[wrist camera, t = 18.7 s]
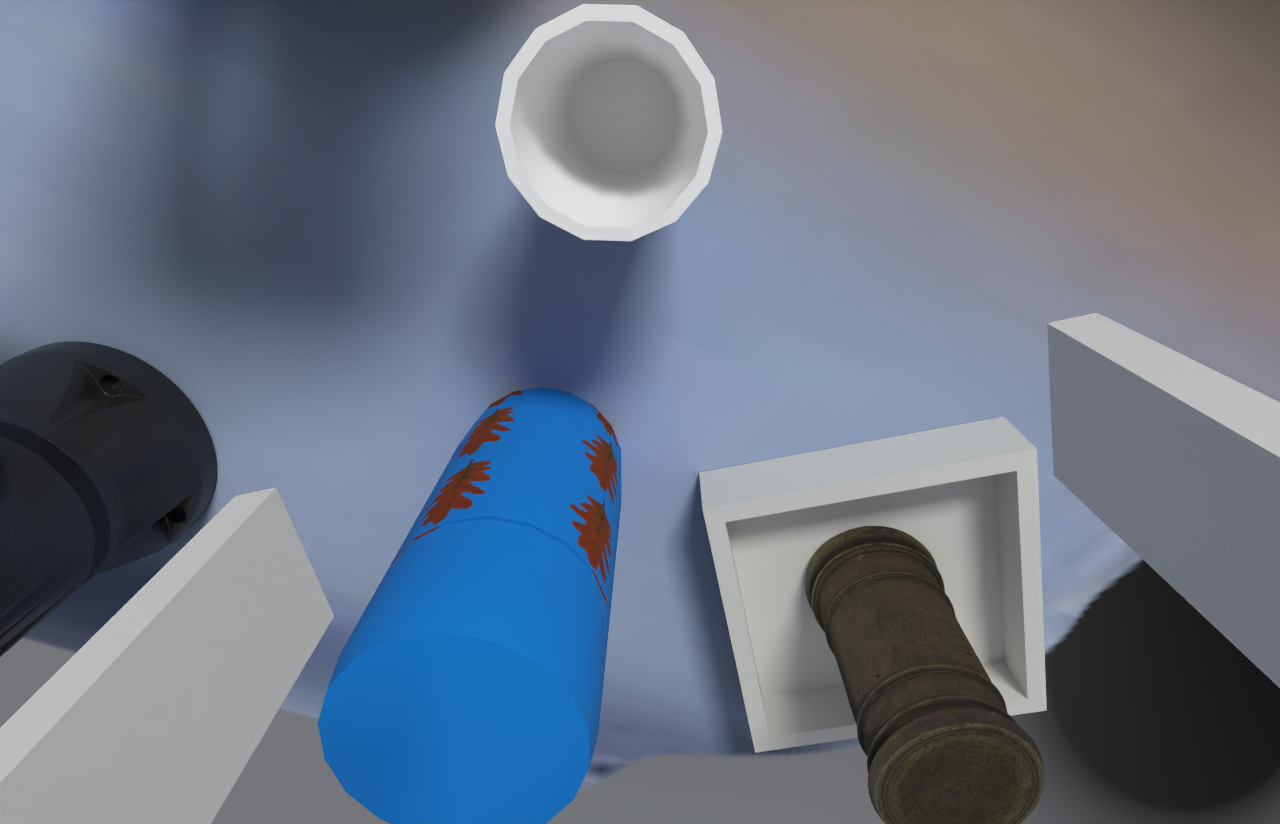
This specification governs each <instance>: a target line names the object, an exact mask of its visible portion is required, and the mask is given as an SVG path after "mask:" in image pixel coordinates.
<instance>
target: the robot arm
mask: <svg viewBox="0 0 1280 824" xmlns="http://www.w3.org/2000/svg"><path fill="white" fill-rule="evenodd" d="M1047 327H1048V350H1049V374H1050V397H1051V420H1052V444H1053V467H1054V476H1055V477H1056V478H1057V479H1058V480H1059V481H1060V482H1061V483H1063V484H1064V485H1065V486H1066V487H1067V488H1068V489H1069V490H1070V491H1071V492H1072V493H1073V494H1074V495H1075V496H1076V497H1077V498H1078V499H1080V500H1081V501H1082V502H1083V503H1084V504H1085V505H1086V506H1087V507H1088V508H1089V509H1090V510H1091V511H1092V512H1093V513H1094V514H1095V515H1097V516H1098V517H1099V518H1100V519H1101V520H1102V521H1103V522H1104V523H1105V524H1106V525H1107V526H1108V527H1109V528H1110V529H1111V530H1113V531H1114V532H1115V533H1116V534H1117V535H1118V536H1119V537H1120V538H1121V539H1122V540H1123V541H1124V542H1125V543H1126V544H1127V545H1128V546H1130V547H1131V548H1132V549H1133V550H1134V551H1135V552H1136V553H1137V554H1138V555H1139V556H1140V557H1141V558H1142V559H1143V560H1144V561H1145V562H1147V563H1148V564H1149V565H1150V566H1151V567H1152V568H1153V569H1154V570H1155V571H1156V572H1157V573H1158V574H1159V575H1160V576H1162V577H1163V578H1164V579H1165V580H1166V581H1167V582H1168V583H1169V584H1170V585H1171V586H1172V587H1173V588H1174V589H1175V590H1176V591H1177V592H1179V593H1180V594H1181V595H1182V596H1183V597H1184V598H1185V599H1186V600H1187V601H1188V602H1189V603H1190V604H1191V605H1192V606H1193V607H1194V608H1195V609H1197V610H1198V611H1199V612H1200V613H1201V614H1202V615H1203V616H1204V617H1205V618H1206V619H1207V620H1208V621H1209V622H1210V623H1211V624H1213V626H1215V627H1216V628H1217V629H1218V630H1219V631H1220V632H1221V633H1222V634H1223V635H1224V636H1225V637H1226V638H1227V639H1228V640H1230V641H1231V642H1232V643H1233V644H1234V645H1235V646H1236V647H1237V648H1238V649H1239V650H1240V651H1241V652H1242V653H1243V654H1244V655H1246V656H1247V657H1248V658H1249V659H1250V660H1251V661H1252V662H1253V663H1254V664H1255V665H1256V666H1257V667H1258V668H1259V669H1260V670H1261V671H1262V672H1263V673H1265V674H1266V675H1267V676H1268V677H1269V678H1270V679H1271V680H1272V681H1273V682H1274V683H1275V684H1276V685H1277V686H1278V687H1279V688H1280V402H1278V401H1276V400H1274V399H1272V398H1270V397H1268V396H1265V395H1263V394H1261V393H1259V392H1257V391H1255V390H1253V389H1251V388H1249V387H1247V386H1245V385H1243V384H1241V383H1239V382H1237V381H1235V380H1233V379H1231V378H1229V377H1227V376H1225V375H1223V374H1221V373H1219V372H1217V371H1215V370H1212V369H1210V368H1208V367H1206V366H1204V365H1202V364H1200V363H1198V362H1196V361H1194V360H1192V359H1190V358H1188V357H1186V356H1184V355H1182V354H1180V353H1178V352H1176V351H1174V350H1172V349H1170V348H1168V347H1166V346H1164V345H1162V344H1160V343H1157V342H1155V341H1153V340H1151V339H1149V338H1147V337H1145V336H1143V335H1141V334H1139V333H1137V332H1135V331H1133V330H1131V329H1129V328H1127V327H1125V326H1123V325H1121V324H1119V323H1117V322H1115V321H1113V320H1111V319H1109V318H1107V317H1104V316H1102V315H1100V314H1098V313H1093V314H1089V315H1084V316H1079V317H1075V318H1070V319H1065V320H1060V321H1056V322H1051V323H1047ZM216 473H217V467H216V456H215V451H214V447H213V443H212V440H211V437H210V434H209V432H208V430H207V427H206V425H205V423H204V421H203V419H202V418H201V416H200V414H199V413H198V411H197V410H196V408H195V407H194V405H193V404H192V403H191V401H190V400H189V399H188V398H187V397H186V395H185V394H184V393H183V392H182V391H181V390H180V389H179V388H178V387H177V386H176V385H175V384H174V383H173V382H172V381H171V380H170V379H168V378H167V377H166V376H165V375H163V374H162V373H161V372H159V371H158V370H157V369H155V368H154V367H152V366H151V365H149V364H147V363H146V362H144V361H142V360H140V359H138V358H137V357H134V356H132V355H130V354H128V353H125V352H123V351H120V350H118V349H115V348H111V347H108V346H104V345H100V344H94V343H87V342H60V343H53V344H48V345H45V346H41V347H38V348H36V349H33V350H31V351H29V352H26V353H24V354H21V355H19V356H17V357H14V358H12V359H10V360H8V361H6V362H4V363H3V364H1V365H0V657H1V656H2V655H3V654H4V653H5V652H6V651H8V650H9V649H10V648H11V647H12V646H13V645H15V644H16V643H17V642H18V641H19V640H20V639H21V638H23V637H24V636H25V635H26V634H27V633H28V632H29V631H31V630H32V629H33V628H34V627H35V626H36V625H37V624H39V623H40V622H41V621H42V620H43V619H44V618H45V617H47V616H48V615H49V614H50V613H51V612H52V611H53V610H55V609H56V608H57V607H58V606H59V605H60V604H61V603H63V602H64V601H65V600H66V599H67V598H68V597H69V596H71V595H72V594H73V593H74V592H75V591H76V590H77V589H78V588H79V587H81V586H82V585H83V584H84V583H85V582H86V581H88V580H89V579H90V578H91V577H92V576H94V575H97V574H100V573H102V572H105V571H108V570H110V569H113V568H116V567H118V566H121V565H124V564H126V563H129V562H132V561H134V560H137V559H140V558H142V557H145V556H148V555H150V554H153V553H155V552H157V551H159V550H161V549H163V548H164V547H166V546H168V545H169V544H171V543H172V542H174V541H175V540H176V539H177V538H179V537H180V536H181V535H182V534H183V533H184V532H185V531H186V530H187V529H188V528H189V527H191V526H192V525H193V524H194V523H195V522H196V521H197V520H198V519H199V518H200V516H201V515H202V514H203V512H204V511H205V509H206V508H207V506H208V504H209V502H210V500H211V498H212V495H213V492H214V488H215V483H216ZM333 617H334V615H333V613H332V610H331V608H330V606H329V604H328V602H327V599H326V597H325V595H324V593H323V590H322V588H321V586H320V584H319V582H318V579H317V577H316V575H315V573H314V570H313V568H312V566H311V564H310V562H309V559H308V557H307V555H306V553H305V550H304V548H303V546H302V544H301V542H300V539H299V537H298V535H297V533H296V530H295V528H294V526H293V524H292V522H291V519H290V517H289V515H288V513H287V510H286V508H285V506H284V504H283V502H282V499H281V497H280V495H279V493H278V490H277V488H276V487H275V488H271V489H266V490H261V491H257V492H252V493H247V494H243V495H238V496H235V497H234V498H233V499H232V500H231V501H230V502H229V503H228V504H227V505H226V506H225V507H224V508H223V509H222V510H221V511H220V512H219V513H217V514H216V515H215V516H214V517H213V518H212V519H211V520H210V521H209V522H208V523H207V524H206V525H205V526H204V527H203V528H202V529H201V530H200V531H199V532H198V533H197V534H196V535H195V536H194V537H193V538H192V539H191V540H190V541H189V542H188V543H187V544H186V545H185V546H184V547H183V548H182V549H181V550H180V551H179V552H178V553H177V554H176V555H175V556H174V557H173V558H172V559H171V560H170V561H169V562H168V563H167V564H166V565H165V566H164V567H163V568H162V569H161V570H160V571H159V572H158V573H157V574H156V575H155V576H154V577H153V578H152V579H151V580H150V581H149V582H147V583H146V584H145V585H144V586H143V587H142V588H141V589H140V590H139V591H138V592H137V593H136V594H135V595H134V596H133V597H132V598H131V599H130V600H129V601H128V602H127V603H126V604H125V605H124V606H123V607H122V608H121V609H120V610H119V611H118V612H117V613H116V614H115V615H114V616H113V617H112V618H111V619H110V620H109V621H108V622H107V623H106V624H105V625H104V626H103V627H102V628H101V629H100V630H99V631H98V632H97V633H96V634H95V635H94V636H93V637H92V638H91V639H90V640H89V641H88V642H87V643H86V644H85V645H84V646H83V647H82V648H81V649H80V650H79V651H78V652H76V653H75V654H74V655H73V656H72V657H71V658H70V660H68V661H67V662H66V663H65V664H64V665H63V666H62V667H61V668H60V669H59V670H58V671H57V672H56V673H55V674H54V675H53V676H52V677H51V678H50V679H49V680H48V681H47V682H46V683H45V684H44V685H43V686H42V687H41V688H40V689H39V690H38V691H37V692H36V693H35V694H34V695H33V696H32V697H31V698H30V699H29V700H28V701H27V702H26V703H25V704H24V705H23V706H22V707H21V708H20V709H19V710H18V711H17V712H16V713H15V714H14V715H13V716H12V717H11V718H10V719H9V720H8V721H6V723H4V724H3V725H2V727H1V728H0V824H211V823H212V821H213V819H214V817H215V816H216V814H217V812H218V811H219V809H220V807H221V805H222V804H223V802H224V800H225V799H226V797H227V796H228V794H229V792H230V790H231V789H232V787H233V785H234V784H235V782H236V780H237V779H238V777H239V775H240V774H241V772H242V770H243V769H244V767H245V765H246V764H247V762H248V760H249V759H250V757H251V755H252V753H253V752H254V750H255V748H256V747H257V745H258V743H259V742H260V740H261V738H262V737H263V735H264V733H265V732H266V730H267V728H268V727H269V725H270V723H271V722H272V720H273V718H274V716H275V715H276V713H277V711H278V710H279V708H280V706H281V705H282V703H283V701H284V700H285V698H286V696H287V695H288V693H289V691H290V690H291V688H292V686H293V684H294V683H295V681H296V679H297V678H298V676H299V674H300V673H301V671H302V669H303V668H304V666H305V664H306V663H307V661H308V659H309V658H310V656H311V654H312V652H313V651H314V649H315V647H316V646H317V644H318V642H319V641H320V639H321V637H322V636H323V634H324V632H325V631H326V629H327V627H328V626H329V624H330V622H331V620H332V619H333Z"/></svg>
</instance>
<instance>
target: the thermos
mask: <svg viewBox="0 0 1280 824" xmlns="http://www.w3.org/2000/svg"><path fill="white" fill-rule="evenodd" d="M620 509H621V449H620V446H619V444H618V441H617V439H616V436H615V434H614V431H613V429H612V426H611V425H610V424H609V423H608V422H607V420H606V419H605V418H604V417H603V416H602V415H601V414H600V413H599V412H598V410H597V409H596V408H595V407H594V406H593V405H591V404H589V403H587V402H585V401H584V400H582V399H580V398H578V397H576V396H574V395H573V394H571V393H569V392H563V391H558V390H552V389H547V388H535V389H528V390H522V391H515V392H513V393H511V394H509V395H507V396H505V397H503V398H501V399H500V400H498V401H496V402H494V403H492V404H491V405H490V406H489V407H488V408H487V410H486V411H485V412H484V413H483V414H482V415H481V417H480V418H479V419H478V420H477V421H476V422H475V424H474V425H473V426H472V428H471V429H470V431H469V432H468V433H467V435H466V436H465V437H464V439H463V440H462V441H461V443H460V444H459V446H458V447H457V449H456V451H455V452H454V454H453V456H452V458H451V460H450V461H449V463H448V465H447V467H446V468H445V470H444V472H443V474H442V475H441V477H440V479H439V481H438V482H437V484H436V486H435V488H434V490H433V491H432V493H431V495H430V497H429V498H428V500H427V502H426V504H425V505H424V507H423V509H422V511H421V512H420V514H419V516H418V518H417V519H416V521H415V523H414V525H413V527H412V528H411V530H410V532H409V534H408V535H407V537H406V539H405V541H404V542H403V544H402V546H401V548H400V549H399V551H398V553H397V555H396V556H395V558H394V560H393V562H392V564H391V566H390V567H389V569H388V571H387V572H386V574H385V576H384V578H383V579H382V581H381V583H380V585H379V586H378V588H377V590H376V592H375V593H374V595H373V597H372V599H371V601H370V602H369V604H368V606H367V608H366V609H365V611H364V613H363V615H362V616H361V618H360V620H359V622H358V623H357V625H356V627H355V629H354V631H353V632H352V634H351V636H350V638H349V639H348V641H347V643H346V645H345V646H344V648H343V650H342V652H341V653H340V656H339V659H338V661H337V664H336V667H335V670H334V672H333V675H332V678H331V680H330V683H329V686H328V689H327V693H326V696H325V700H324V703H323V707H322V710H321V714H320V717H319V721H318V726H319V731H320V736H321V741H322V747H323V753H324V758H325V760H326V762H327V763H328V765H329V766H330V768H331V769H332V771H333V773H334V774H335V776H336V777H337V779H338V780H339V782H340V783H341V785H342V786H343V788H344V789H345V791H346V792H347V793H348V794H349V795H350V796H352V797H353V798H354V799H356V800H357V801H358V802H359V803H361V804H362V805H363V806H364V807H366V808H367V809H368V810H369V811H371V812H372V813H373V814H374V815H376V816H377V817H378V818H380V819H381V820H384V821H386V822H388V823H391V824H546V823H547V822H548V821H549V820H550V819H552V818H553V817H554V816H555V815H556V814H557V813H559V812H560V811H561V810H562V809H563V808H564V807H565V806H567V804H569V803H570V802H571V801H572V800H573V799H574V798H575V796H576V794H577V792H578V790H579V787H580V785H581V783H582V781H583V779H584V777H585V775H586V773H587V770H588V768H589V766H590V762H591V758H592V755H593V751H594V747H595V743H596V740H597V736H598V730H599V720H600V710H601V700H602V690H603V680H604V670H605V660H606V650H607V640H608V630H609V620H610V609H611V599H612V589H613V579H614V569H615V559H616V549H617V539H618V529H619V519H620Z"/></svg>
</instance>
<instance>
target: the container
mask: <svg viewBox="0 0 1280 824" xmlns="http://www.w3.org/2000/svg"><path fill="white" fill-rule="evenodd" d="M805 591H806V596H807V600H808V603H809V605H810V607H811V609H812V611H813V613H814V616H815V618H816V621H817V622H818V624H819V626H820V627H821V629H822V630H823V631H824V632H825V636H826V640H827V643H828V646H829V648H830V649H831V651H832V653H833V654H834V656H835V658H836V661H837V664H838V667H839V671H840V674H841V677H842V680H843V683H844V686H845V690H846V693H847V697H848V701H849V704H850V707H851V710H852V714H853V717H854V720H855V722H856V725H857V735H858V739H859V743H860V745H861V747H862V749H863V751H864V752H865V754H866V755H867V757H868V760H867V767H868V774H869V775H868V788H869V794H870V798H871V801H872V804H873V806H874V808H875V810H876V812H877V813H878V815H879V816H880V818H881V819H882V820H883V821H884V823H885V824H1020V823H1022V822H1023V821H1024V820H1025V819H1026V818H1027V817H1028V816H1029V815H1030V813H1031V812H1032V811H1033V810H1034V808H1035V807H1036V805H1037V803H1038V801H1039V799H1040V797H1041V794H1042V790H1043V786H1044V767H1043V762H1042V758H1041V755H1040V753H1039V750H1038V748H1037V747H1036V745H1035V743H1034V742H1033V740H1032V738H1031V737H1030V736H1029V735H1028V734H1027V733H1026V732H1025V731H1024V730H1023V729H1022V728H1021V727H1020V726H1019V725H1018V724H1017V723H1016V722H1015V720H1014V719H1013V718H1012V717H1011V716H1010V715H1009V714H1008V713H1007V708H1006V704H1005V701H1004V698H1003V696H1002V695H1001V693H1000V691H999V690H998V689H997V687H996V686H995V685H994V684H993V683H992V682H991V680H990V678H989V676H988V674H987V673H986V671H985V669H984V667H983V665H982V664H981V662H980V660H979V658H978V657H977V655H976V653H975V651H974V650H973V648H972V646H971V644H970V642H969V641H968V639H967V637H966V635H965V634H964V632H963V630H962V628H961V626H960V624H959V622H958V621H957V619H956V616H955V612H954V608H953V605H952V603H951V601H950V599H949V597H948V596H947V595H946V593H945V588H944V582H943V579H942V576H941V574H940V572H939V570H938V568H937V565H936V563H935V560H934V558H933V556H932V555H931V553H930V552H929V551H928V550H927V548H926V547H925V546H924V545H923V544H922V543H920V542H919V541H918V540H917V539H915V538H914V537H912V536H911V535H909V534H907V533H905V532H903V531H900V530H898V529H894V528H890V527H885V526H863V527H858V528H854V529H850V530H847V531H845V532H842V533H840V534H838V535H836V536H834V537H832V538H830V539H829V540H827V541H826V542H825V543H824V544H823V545H821V546H820V547H819V549H818V550H817V551H816V552H815V553H814V555H813V557H812V558H811V560H810V563H809V565H808V569H807V573H806V580H805Z"/></svg>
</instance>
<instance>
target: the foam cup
mask: <svg viewBox="0 0 1280 824" xmlns="http://www.w3.org/2000/svg"><path fill="white" fill-rule="evenodd" d="M495 127H496V131H497V135H498V139H499V143H500V147H501V151H502V155H503V159H504V163H505V166H506V170H507V174H508V177H509V179H510V180H511V181H512V182H513V184H514V185H515V186H516V188H517V189H518V190H519V191H520V193H521V194H522V195H523V197H524V198H525V199H526V200H527V202H528V203H529V204H530V205H531V207H532V208H533V209H534V211H535V212H536V213H537V214H538V216H539V217H540V218H542V219H544V220H546V221H548V222H550V223H552V224H554V225H556V226H558V227H560V228H562V229H564V230H565V231H567V232H569V233H571V234H573V235H575V236H577V237H579V238H581V239H583V240H607V241H633V240H635V239H638V238H640V237H642V236H644V235H647V234H649V233H651V232H653V231H655V230H658V229H660V228H662V227H664V226H667V225H669V224H671V223H673V222H676V220H677V219H678V218H679V217H680V216H681V215H682V213H683V212H684V211H685V210H686V209H687V208H688V206H689V205H690V204H691V203H692V202H693V200H694V199H695V198H696V197H697V196H698V195H699V193H700V192H701V191H702V190H703V189H704V187H705V186H706V185H707V184H708V182H709V179H710V175H711V172H712V168H713V164H714V161H715V157H716V154H717V150H718V147H719V143H720V139H721V136H722V125H721V119H720V112H719V106H718V99H717V93H716V86H715V80H714V77H713V76H712V74H711V73H710V71H709V70H708V68H707V67H706V65H705V64H704V62H703V60H702V59H701V57H700V56H699V54H698V53H697V51H696V50H695V48H694V47H693V45H692V44H691V42H690V41H689V39H688V38H687V36H686V35H685V33H684V32H682V31H681V30H679V29H677V28H675V27H674V26H672V25H670V24H668V23H667V22H665V21H663V20H661V19H660V18H658V17H656V16H654V15H653V14H651V13H649V12H647V11H646V10H644V9H642V8H640V7H639V6H637V5H605V4H582V5H580V6H578V7H576V8H574V9H572V10H570V11H568V12H566V13H565V14H563V15H561V16H559V17H557V18H555V19H553V20H551V21H549V22H547V23H545V24H543V25H541V26H539V27H537V28H536V29H535V30H534V31H533V33H532V34H531V36H530V37H529V38H528V40H527V41H526V43H525V44H524V45H523V47H522V48H521V50H520V51H519V52H518V54H517V55H516V57H515V58H514V60H513V61H512V62H511V64H510V65H509V67H508V68H507V69H506V71H505V72H504V78H503V83H502V89H501V95H500V101H499V106H498V112H497V118H496V123H495Z"/></svg>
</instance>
